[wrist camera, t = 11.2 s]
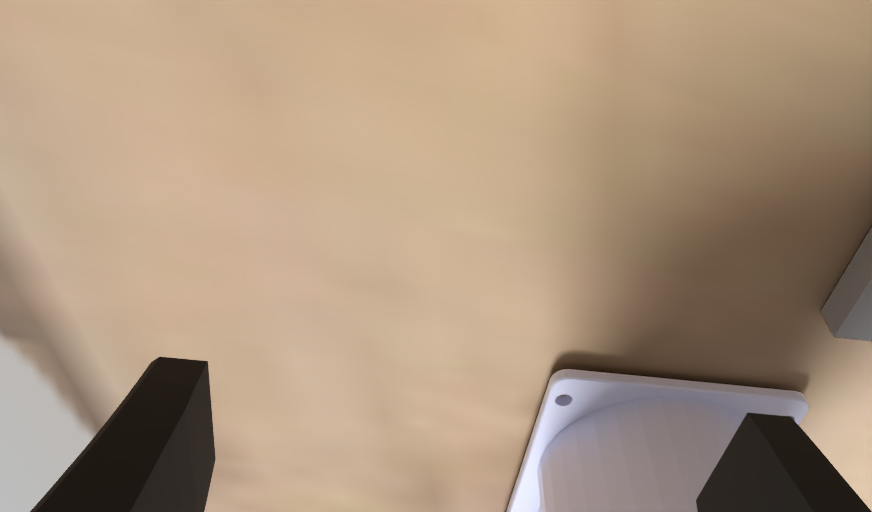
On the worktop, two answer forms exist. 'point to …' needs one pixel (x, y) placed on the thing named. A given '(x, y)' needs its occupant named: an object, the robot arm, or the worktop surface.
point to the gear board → (853, 298)
